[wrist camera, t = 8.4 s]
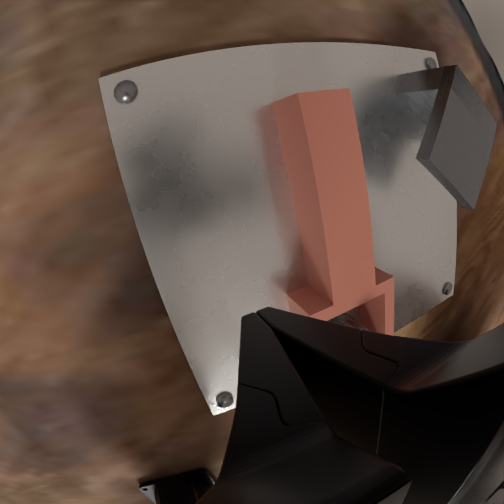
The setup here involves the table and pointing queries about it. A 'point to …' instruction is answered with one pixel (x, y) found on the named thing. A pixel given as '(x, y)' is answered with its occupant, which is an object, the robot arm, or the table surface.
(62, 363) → the table surface
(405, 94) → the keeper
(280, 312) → the robot arm
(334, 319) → the cylinder
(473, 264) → the table surface
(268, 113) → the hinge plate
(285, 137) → the link
